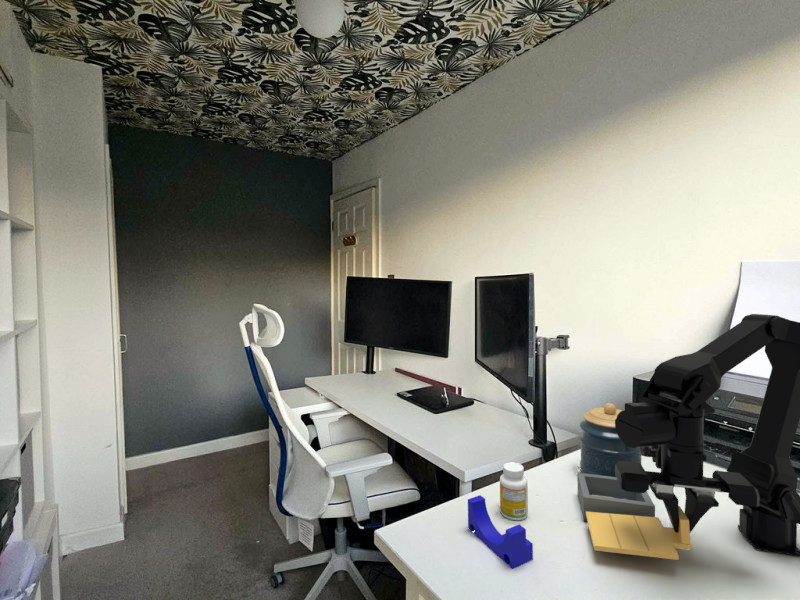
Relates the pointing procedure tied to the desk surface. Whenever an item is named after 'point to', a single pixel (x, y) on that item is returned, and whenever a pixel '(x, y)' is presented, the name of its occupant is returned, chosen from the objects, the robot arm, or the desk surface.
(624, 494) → the parts tub
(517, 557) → the blue semicircular mounting bracket
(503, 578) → the desk surface
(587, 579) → the desk surface
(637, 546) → the snap lid
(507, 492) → the supplement bottle
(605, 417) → the canister
